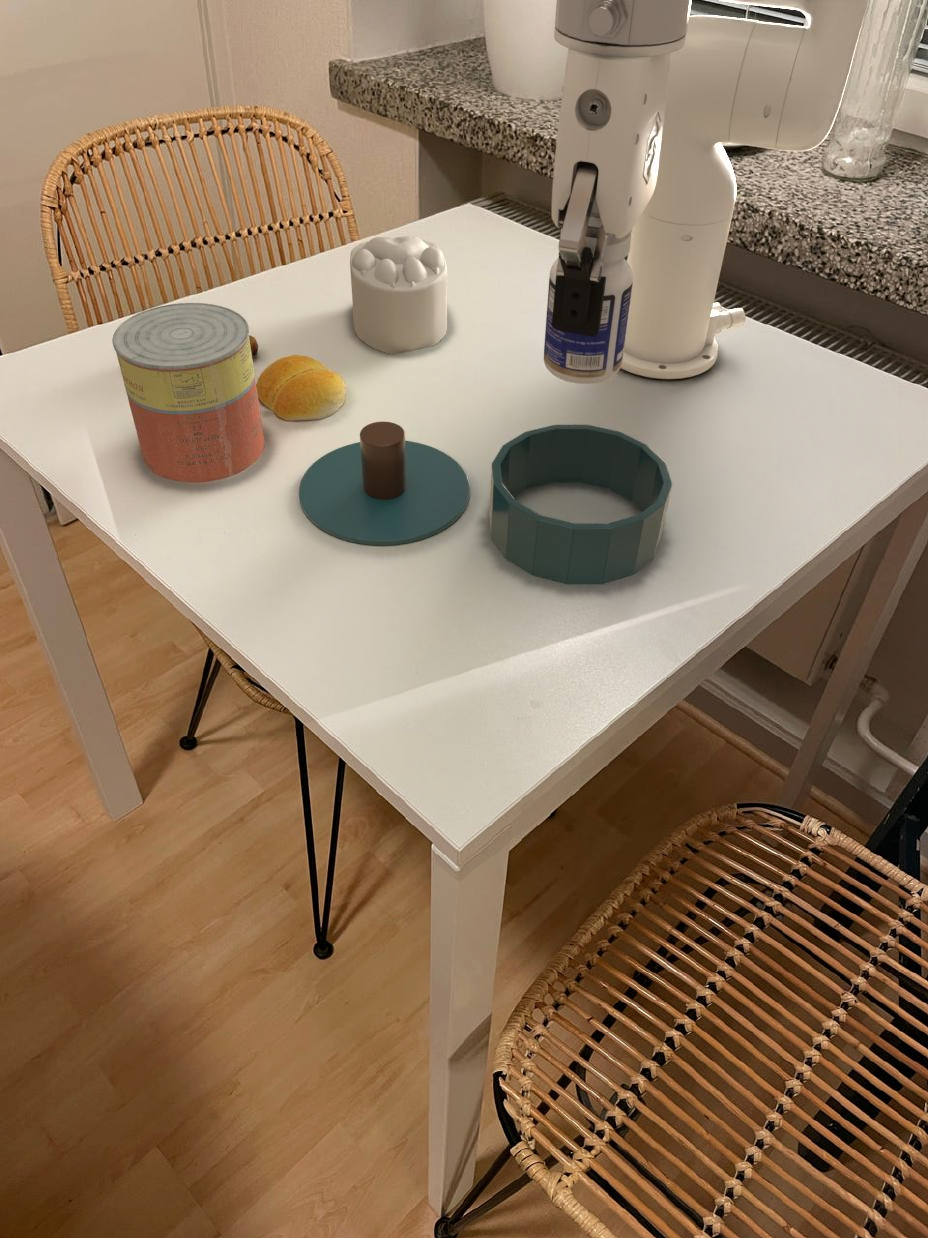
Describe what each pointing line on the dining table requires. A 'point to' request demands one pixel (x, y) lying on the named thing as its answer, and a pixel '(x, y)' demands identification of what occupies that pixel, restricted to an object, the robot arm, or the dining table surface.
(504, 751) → the dining table surface
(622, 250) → the pill bottle
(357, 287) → the lumpy-topped squat cylinder
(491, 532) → the pot
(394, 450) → the lid
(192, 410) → the canned food
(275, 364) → the bread roll
